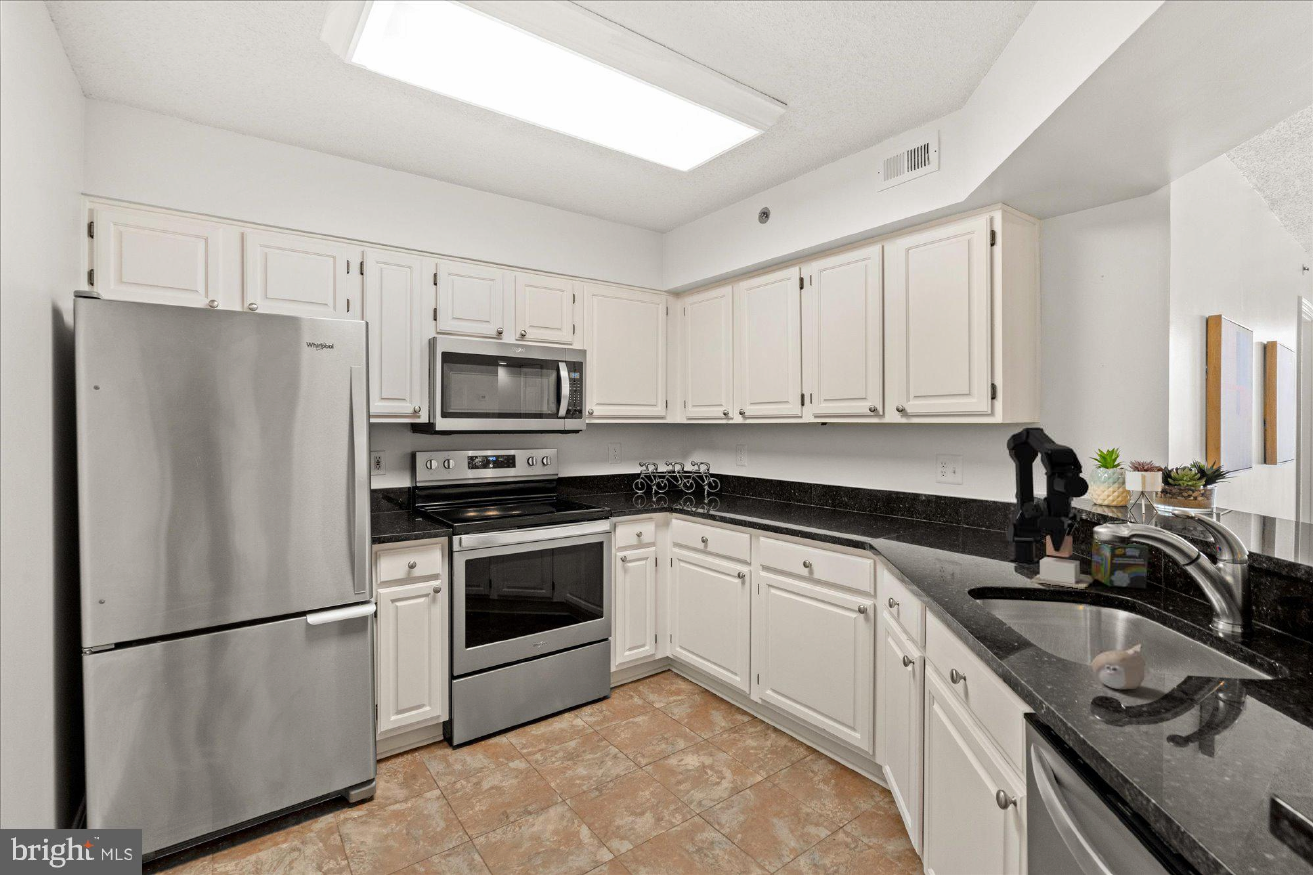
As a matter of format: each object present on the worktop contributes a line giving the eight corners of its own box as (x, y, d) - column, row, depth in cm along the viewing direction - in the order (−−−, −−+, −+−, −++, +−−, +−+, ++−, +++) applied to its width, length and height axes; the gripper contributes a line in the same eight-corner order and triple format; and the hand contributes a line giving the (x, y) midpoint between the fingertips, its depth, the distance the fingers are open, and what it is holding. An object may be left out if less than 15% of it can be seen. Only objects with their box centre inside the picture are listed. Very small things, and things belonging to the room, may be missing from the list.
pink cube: (1051, 551, 167) (1051, 533, 167) (1072, 554, 164) (1072, 536, 164) (1046, 554, 164) (1046, 536, 164) (1068, 557, 160) (1067, 538, 160)
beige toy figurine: (1122, 698, 95) (1122, 648, 95) (1084, 682, 101) (1083, 635, 101) (1153, 692, 97) (1152, 643, 97) (1113, 677, 103) (1113, 631, 103)
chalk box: (1126, 579, 164) (1129, 525, 163) (1147, 589, 155) (1151, 532, 154) (1089, 576, 166) (1092, 524, 165) (1108, 586, 157) (1111, 531, 156)
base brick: (1079, 579, 163) (1079, 561, 163) (1074, 583, 159) (1074, 564, 159) (1045, 574, 169) (1045, 556, 169) (1039, 578, 165) (1039, 560, 165)
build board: (1046, 571, 175) (1045, 569, 175) (1096, 578, 166) (1095, 575, 166) (1030, 582, 164) (1030, 579, 164) (1083, 590, 155) (1083, 587, 155)
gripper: (1034, 488, 176) (1034, 541, 176) (1015, 494, 163) (1016, 551, 163) (1079, 490, 168) (1080, 546, 168) (1063, 497, 155) (1064, 557, 155)
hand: (1059, 549), depth 164 cm, fingers closed on pink cube, 5 cm apart
